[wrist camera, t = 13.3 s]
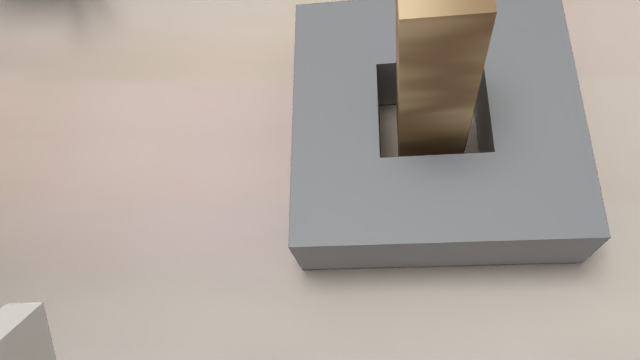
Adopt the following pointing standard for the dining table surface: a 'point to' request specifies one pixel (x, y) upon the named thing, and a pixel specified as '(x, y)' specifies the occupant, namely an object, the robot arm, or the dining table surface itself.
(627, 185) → the dining table surface
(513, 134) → the socket block
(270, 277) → the dining table surface
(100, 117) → the dining table surface
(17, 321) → the robot arm
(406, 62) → the long oak peg
